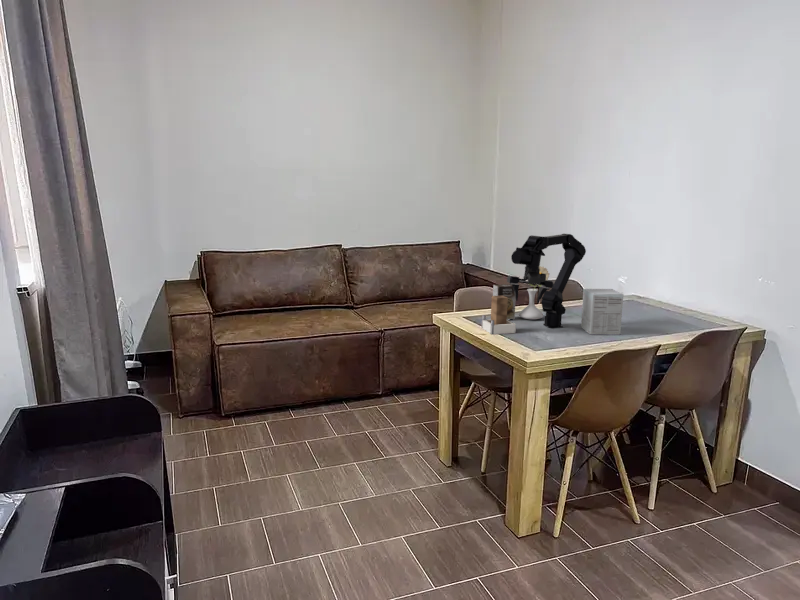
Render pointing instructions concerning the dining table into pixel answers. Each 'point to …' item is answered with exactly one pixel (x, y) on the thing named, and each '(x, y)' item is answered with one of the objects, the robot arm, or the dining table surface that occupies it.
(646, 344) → the dining table surface
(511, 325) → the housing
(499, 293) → the coffee box
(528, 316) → the flower in vase
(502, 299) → the brown block
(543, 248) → the robot arm
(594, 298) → the supplement box
